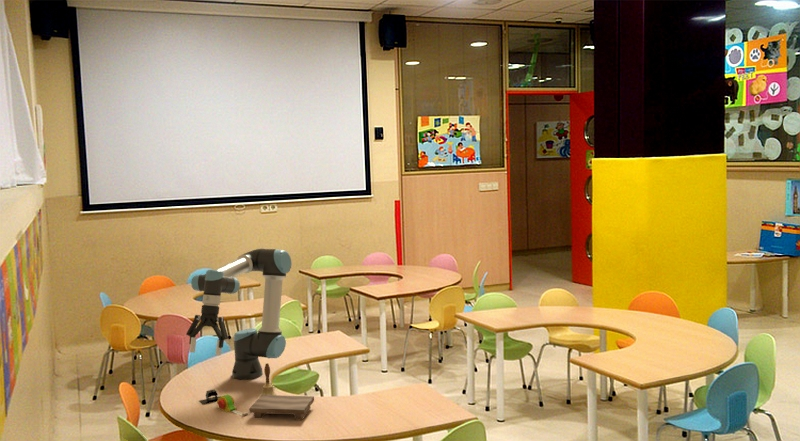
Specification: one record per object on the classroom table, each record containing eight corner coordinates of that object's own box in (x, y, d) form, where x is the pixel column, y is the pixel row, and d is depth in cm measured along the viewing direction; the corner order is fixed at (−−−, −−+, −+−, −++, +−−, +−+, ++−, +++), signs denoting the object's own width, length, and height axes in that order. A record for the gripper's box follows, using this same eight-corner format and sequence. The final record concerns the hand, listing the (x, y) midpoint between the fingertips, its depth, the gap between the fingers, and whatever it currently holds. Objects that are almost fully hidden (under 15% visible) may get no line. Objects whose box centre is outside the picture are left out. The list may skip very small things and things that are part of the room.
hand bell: (280, 394, 334) (279, 361, 332) (271, 401, 326) (270, 367, 324) (264, 393, 336) (263, 360, 334) (255, 399, 328) (254, 365, 327)
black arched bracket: (200, 407, 322) (199, 396, 321) (195, 402, 328) (194, 391, 328) (228, 400, 329) (227, 390, 328) (222, 395, 335) (222, 385, 335)
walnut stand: (262, 405, 320) (261, 394, 319) (314, 407, 317) (313, 396, 316) (249, 419, 304) (249, 408, 304) (304, 421, 301) (304, 409, 300)
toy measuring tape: (224, 404, 323) (223, 390, 322) (251, 414, 311) (251, 399, 310) (212, 408, 318) (211, 394, 317) (239, 418, 306) (239, 403, 305)
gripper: (182, 302, 316) (176, 351, 313) (229, 306, 307) (224, 356, 304) (192, 303, 322) (186, 351, 320) (239, 307, 314) (234, 356, 311)
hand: (205, 353), depth 312 cm, fingers open, 13 cm apart
